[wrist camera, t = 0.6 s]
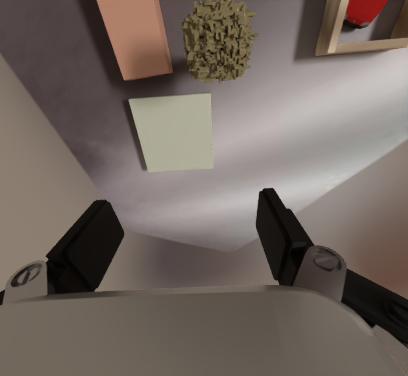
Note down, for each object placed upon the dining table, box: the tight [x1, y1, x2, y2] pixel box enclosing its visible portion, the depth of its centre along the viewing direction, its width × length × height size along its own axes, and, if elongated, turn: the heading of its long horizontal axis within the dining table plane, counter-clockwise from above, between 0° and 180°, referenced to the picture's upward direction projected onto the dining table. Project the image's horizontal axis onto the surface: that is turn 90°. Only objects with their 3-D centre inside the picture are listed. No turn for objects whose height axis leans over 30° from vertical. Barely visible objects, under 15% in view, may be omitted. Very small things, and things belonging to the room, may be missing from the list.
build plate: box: [128, 92, 213, 172], centre depth 34 cm, size 14×14×2 cm
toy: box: [182, 0, 258, 83], centre depth 21 cm, size 7×7×15 cm
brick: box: [97, 0, 173, 80], centre depth 24 cm, size 12×7×4 cm, turn 8°
